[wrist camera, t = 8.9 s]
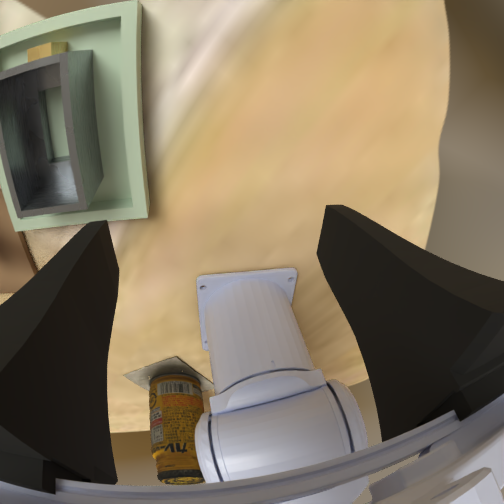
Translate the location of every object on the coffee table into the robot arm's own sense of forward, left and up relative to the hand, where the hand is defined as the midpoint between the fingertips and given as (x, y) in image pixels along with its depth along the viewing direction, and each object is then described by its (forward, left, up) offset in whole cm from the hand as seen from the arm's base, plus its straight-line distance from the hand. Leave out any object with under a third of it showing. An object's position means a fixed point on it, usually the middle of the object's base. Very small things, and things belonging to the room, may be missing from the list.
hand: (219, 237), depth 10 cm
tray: (+3, +8, -10) cm, 13 cm away
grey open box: (+3, +8, -9) cm, 13 cm away
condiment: (-26, +5, -10) cm, 28 cm away
